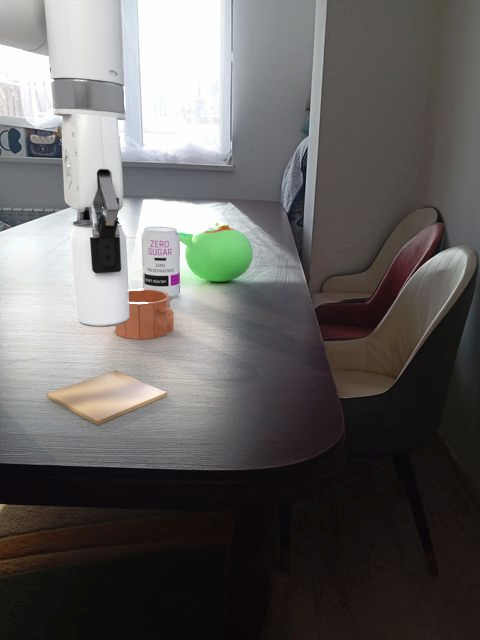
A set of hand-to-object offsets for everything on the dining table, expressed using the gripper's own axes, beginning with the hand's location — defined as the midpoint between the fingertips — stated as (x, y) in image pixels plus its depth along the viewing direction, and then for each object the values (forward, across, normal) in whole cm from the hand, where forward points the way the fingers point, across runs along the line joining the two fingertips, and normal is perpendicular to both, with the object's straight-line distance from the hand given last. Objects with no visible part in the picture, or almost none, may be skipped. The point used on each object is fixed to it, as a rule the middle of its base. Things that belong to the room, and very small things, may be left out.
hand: (99, 264), depth 62 cm
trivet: (+18, 0, 0) cm, 18 cm away
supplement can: (+18, -47, +24) cm, 55 cm away
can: (+7, 0, 0) cm, 7 cm away
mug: (+18, -23, +13) cm, 32 cm away
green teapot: (+18, -57, +42) cm, 73 cm away
